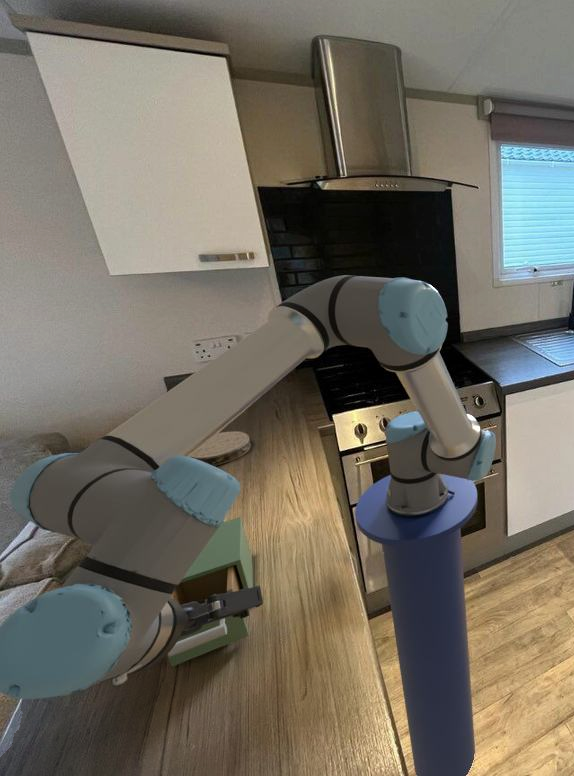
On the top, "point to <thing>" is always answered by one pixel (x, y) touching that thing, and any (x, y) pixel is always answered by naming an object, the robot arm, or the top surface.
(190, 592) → the drawer
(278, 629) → the top surface
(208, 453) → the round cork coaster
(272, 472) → the top surface
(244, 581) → the cabinet
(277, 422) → the top surface
